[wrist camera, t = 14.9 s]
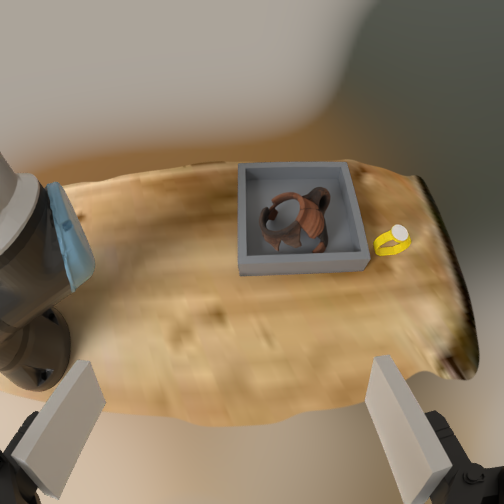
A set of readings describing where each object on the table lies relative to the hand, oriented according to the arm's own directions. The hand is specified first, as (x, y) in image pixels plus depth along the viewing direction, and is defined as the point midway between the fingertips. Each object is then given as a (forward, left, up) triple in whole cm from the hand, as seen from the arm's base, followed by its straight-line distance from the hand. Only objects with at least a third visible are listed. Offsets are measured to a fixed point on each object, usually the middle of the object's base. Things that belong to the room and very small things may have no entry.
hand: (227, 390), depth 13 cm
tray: (+8, +27, -28) cm, 39 cm away
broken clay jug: (+8, +24, -27) cm, 37 cm away
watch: (+22, +21, -28) cm, 41 cm away
